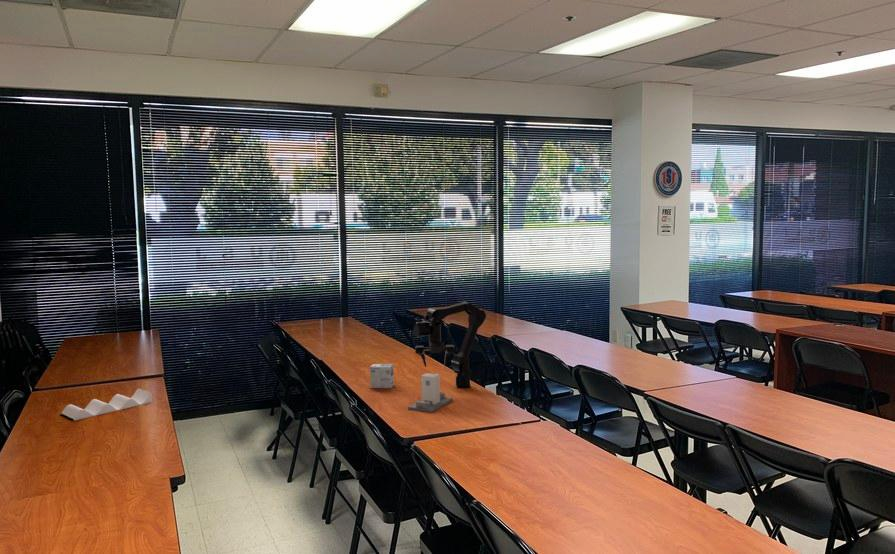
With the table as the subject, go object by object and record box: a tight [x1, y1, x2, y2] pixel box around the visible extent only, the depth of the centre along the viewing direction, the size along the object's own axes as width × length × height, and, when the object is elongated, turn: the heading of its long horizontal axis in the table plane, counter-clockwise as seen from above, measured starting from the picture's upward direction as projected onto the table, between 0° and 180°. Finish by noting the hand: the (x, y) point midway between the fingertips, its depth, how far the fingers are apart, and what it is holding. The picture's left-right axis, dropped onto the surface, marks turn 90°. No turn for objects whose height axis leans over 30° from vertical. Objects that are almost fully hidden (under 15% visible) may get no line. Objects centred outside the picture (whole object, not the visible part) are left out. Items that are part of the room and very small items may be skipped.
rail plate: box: [407, 391, 454, 413], centre depth 299 cm, size 20×12×3 cm, turn 153°
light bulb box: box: [369, 363, 395, 389], centre depth 331 cm, size 11×7×11 cm, turn 84°
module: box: [420, 372, 441, 405], centre depth 298 cm, size 6×6×12 cm
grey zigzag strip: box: [59, 388, 153, 422], centre depth 300 cm, size 13×35×5 cm, turn 140°
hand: (435, 366), depth 319 cm, fingers open, 9 cm apart
